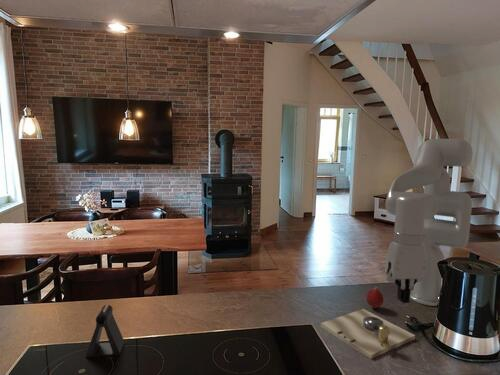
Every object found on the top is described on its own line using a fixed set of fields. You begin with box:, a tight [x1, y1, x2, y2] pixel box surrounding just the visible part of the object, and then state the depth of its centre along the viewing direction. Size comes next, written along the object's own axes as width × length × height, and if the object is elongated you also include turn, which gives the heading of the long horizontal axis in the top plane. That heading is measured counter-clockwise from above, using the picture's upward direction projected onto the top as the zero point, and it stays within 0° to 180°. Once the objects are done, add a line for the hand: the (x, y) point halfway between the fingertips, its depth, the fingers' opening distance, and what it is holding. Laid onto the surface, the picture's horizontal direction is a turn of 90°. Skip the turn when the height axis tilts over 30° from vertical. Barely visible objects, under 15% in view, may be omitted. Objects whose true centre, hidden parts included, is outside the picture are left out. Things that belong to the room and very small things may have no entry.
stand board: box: [320, 308, 416, 360], centre depth 110 cm, size 20×20×2 cm
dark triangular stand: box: [85, 304, 125, 358], centre depth 99 cm, size 9×6×12 cm, turn 98°
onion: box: [365, 286, 385, 309], centre depth 127 cm, size 6×6×8 cm
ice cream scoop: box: [363, 317, 389, 348], centre depth 106 cm, size 16×6×5 cm, turn 176°
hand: (403, 300), depth 101 cm, fingers closed
